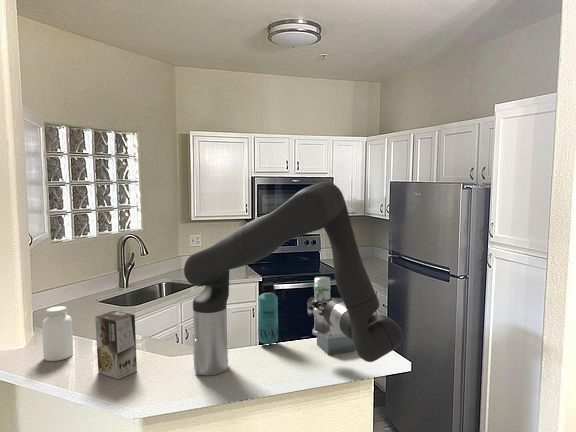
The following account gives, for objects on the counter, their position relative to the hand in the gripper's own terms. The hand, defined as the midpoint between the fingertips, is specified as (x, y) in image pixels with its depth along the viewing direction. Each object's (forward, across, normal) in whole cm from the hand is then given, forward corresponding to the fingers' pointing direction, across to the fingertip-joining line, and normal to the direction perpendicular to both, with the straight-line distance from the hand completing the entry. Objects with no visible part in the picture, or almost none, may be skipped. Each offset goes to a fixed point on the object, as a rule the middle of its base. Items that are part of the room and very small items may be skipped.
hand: (318, 300), depth 121 cm
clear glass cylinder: (-3, 0, +9) cm, 9 cm away
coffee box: (+11, +56, +18) cm, 60 cm away
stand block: (+6, -8, +18) cm, 20 cm away
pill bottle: (+29, +74, +19) cm, 81 cm away
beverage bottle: (+16, +11, +18) cm, 26 cm away
